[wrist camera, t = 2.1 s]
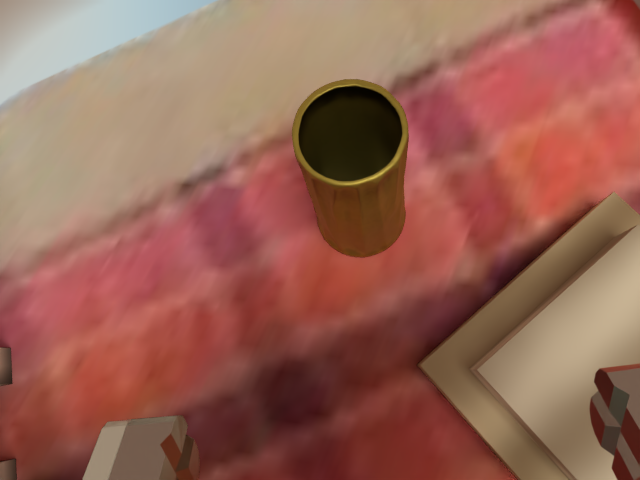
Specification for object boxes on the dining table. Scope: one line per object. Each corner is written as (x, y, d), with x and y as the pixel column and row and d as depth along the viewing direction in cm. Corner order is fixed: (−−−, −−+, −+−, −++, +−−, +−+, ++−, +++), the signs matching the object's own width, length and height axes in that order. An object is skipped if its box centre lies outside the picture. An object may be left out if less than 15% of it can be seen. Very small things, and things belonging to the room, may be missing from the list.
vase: (423, 223, 38) (447, 142, 24) (351, 275, 37) (332, 224, 24) (370, 156, 39) (363, 44, 25) (300, 206, 39) (255, 120, 25)
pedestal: (799, 395, 33) (889, 402, 27) (605, 579, 32) (656, 628, 26) (595, 205, 37) (636, 175, 31) (416, 364, 36) (423, 365, 30)
